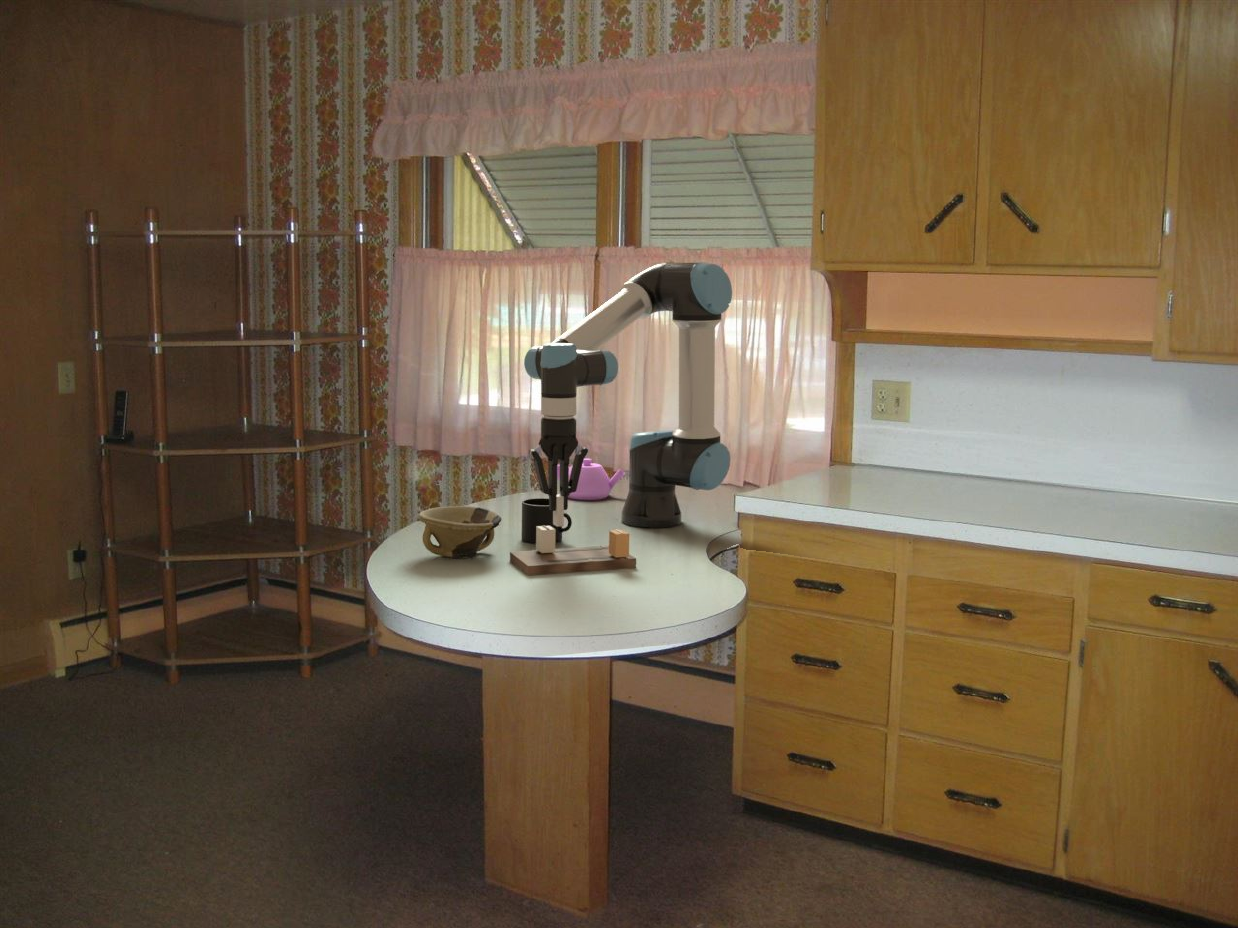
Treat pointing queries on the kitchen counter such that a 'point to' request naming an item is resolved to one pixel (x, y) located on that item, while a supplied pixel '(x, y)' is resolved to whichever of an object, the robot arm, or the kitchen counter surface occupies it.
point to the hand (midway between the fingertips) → (558, 524)
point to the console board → (569, 560)
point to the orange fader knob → (619, 543)
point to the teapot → (593, 481)
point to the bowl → (458, 530)
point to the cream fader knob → (545, 539)
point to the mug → (539, 519)
